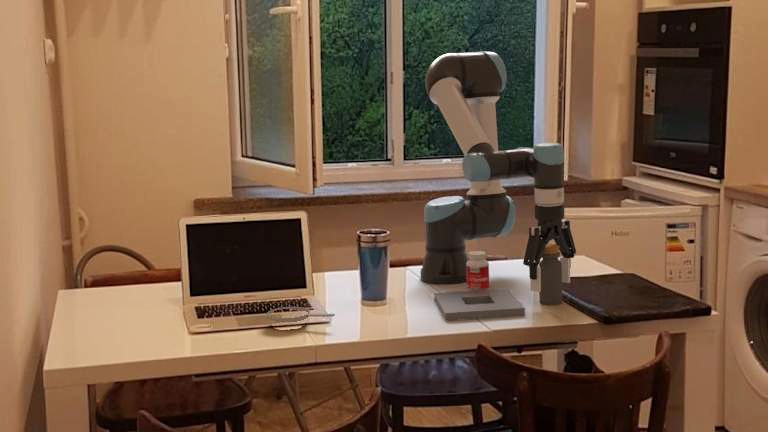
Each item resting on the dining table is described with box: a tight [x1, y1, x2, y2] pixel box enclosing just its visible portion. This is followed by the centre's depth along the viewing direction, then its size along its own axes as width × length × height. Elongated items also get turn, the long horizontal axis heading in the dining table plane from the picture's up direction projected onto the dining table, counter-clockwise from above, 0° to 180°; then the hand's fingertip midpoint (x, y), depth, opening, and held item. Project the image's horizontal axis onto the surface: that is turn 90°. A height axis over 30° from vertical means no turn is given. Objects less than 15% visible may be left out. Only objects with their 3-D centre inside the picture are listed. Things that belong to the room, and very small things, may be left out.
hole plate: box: [433, 288, 526, 321], centre depth 257 cm, size 20×20×2 cm
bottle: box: [538, 243, 563, 306], centre depth 258 cm, size 6×6×15 cm
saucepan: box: [266, 306, 336, 323], centre depth 247 cm, size 11×18×4 cm, turn 68°
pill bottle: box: [466, 250, 490, 291], centre depth 272 cm, size 6×6×11 cm
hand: (550, 286), depth 259 cm, fingers open, 11 cm apart
